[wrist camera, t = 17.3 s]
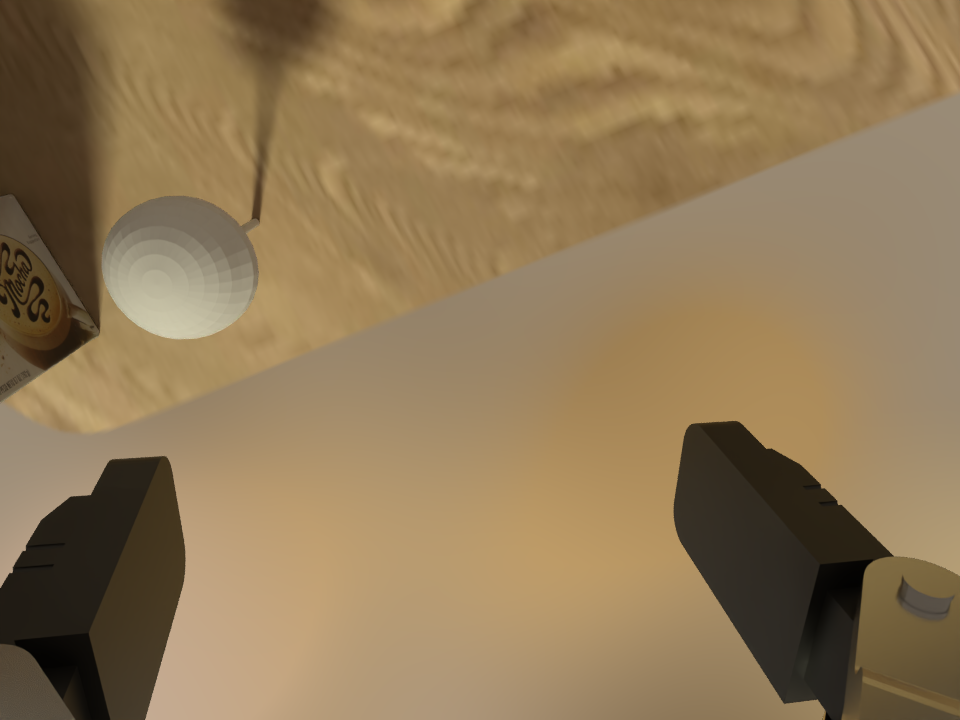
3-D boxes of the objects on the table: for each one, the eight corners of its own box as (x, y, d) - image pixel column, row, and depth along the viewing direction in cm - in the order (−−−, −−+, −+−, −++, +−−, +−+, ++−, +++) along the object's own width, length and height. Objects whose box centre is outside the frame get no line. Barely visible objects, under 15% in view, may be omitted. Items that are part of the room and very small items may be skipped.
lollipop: (299, 162, 42) (219, 195, 27) (319, 266, 44) (254, 348, 29) (188, 176, 42) (51, 217, 28) (213, 280, 44) (97, 368, 29)
